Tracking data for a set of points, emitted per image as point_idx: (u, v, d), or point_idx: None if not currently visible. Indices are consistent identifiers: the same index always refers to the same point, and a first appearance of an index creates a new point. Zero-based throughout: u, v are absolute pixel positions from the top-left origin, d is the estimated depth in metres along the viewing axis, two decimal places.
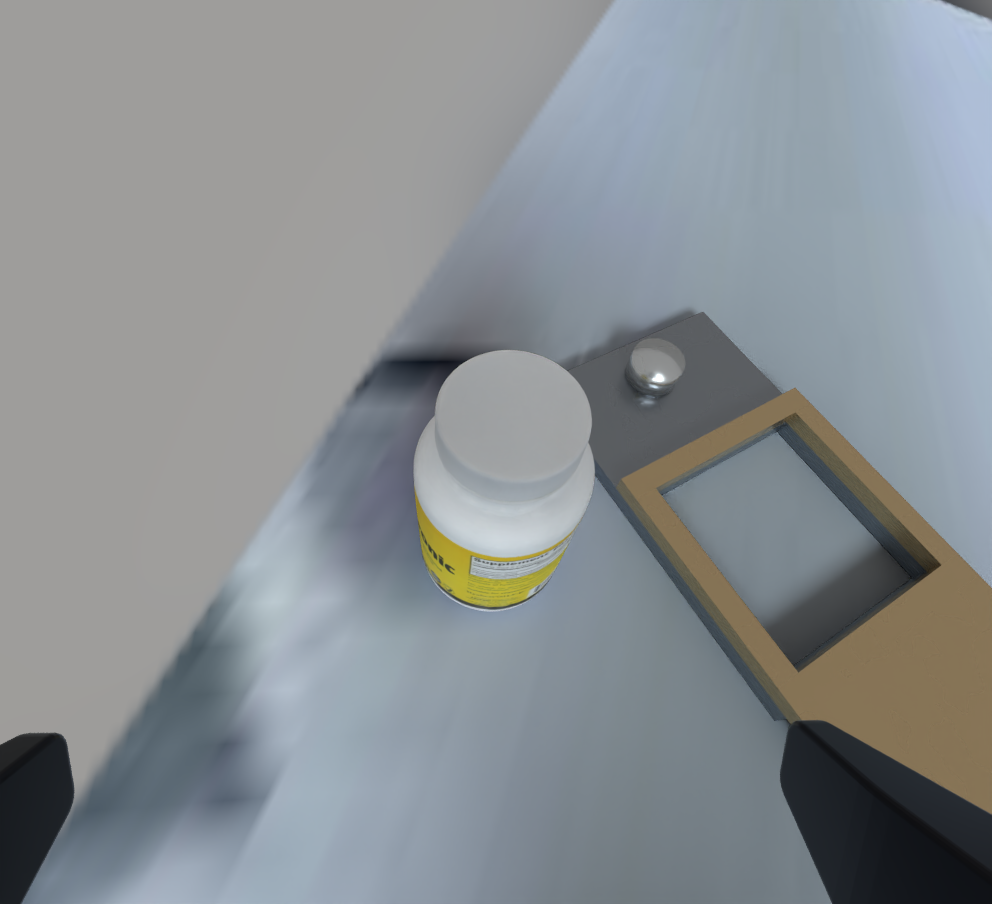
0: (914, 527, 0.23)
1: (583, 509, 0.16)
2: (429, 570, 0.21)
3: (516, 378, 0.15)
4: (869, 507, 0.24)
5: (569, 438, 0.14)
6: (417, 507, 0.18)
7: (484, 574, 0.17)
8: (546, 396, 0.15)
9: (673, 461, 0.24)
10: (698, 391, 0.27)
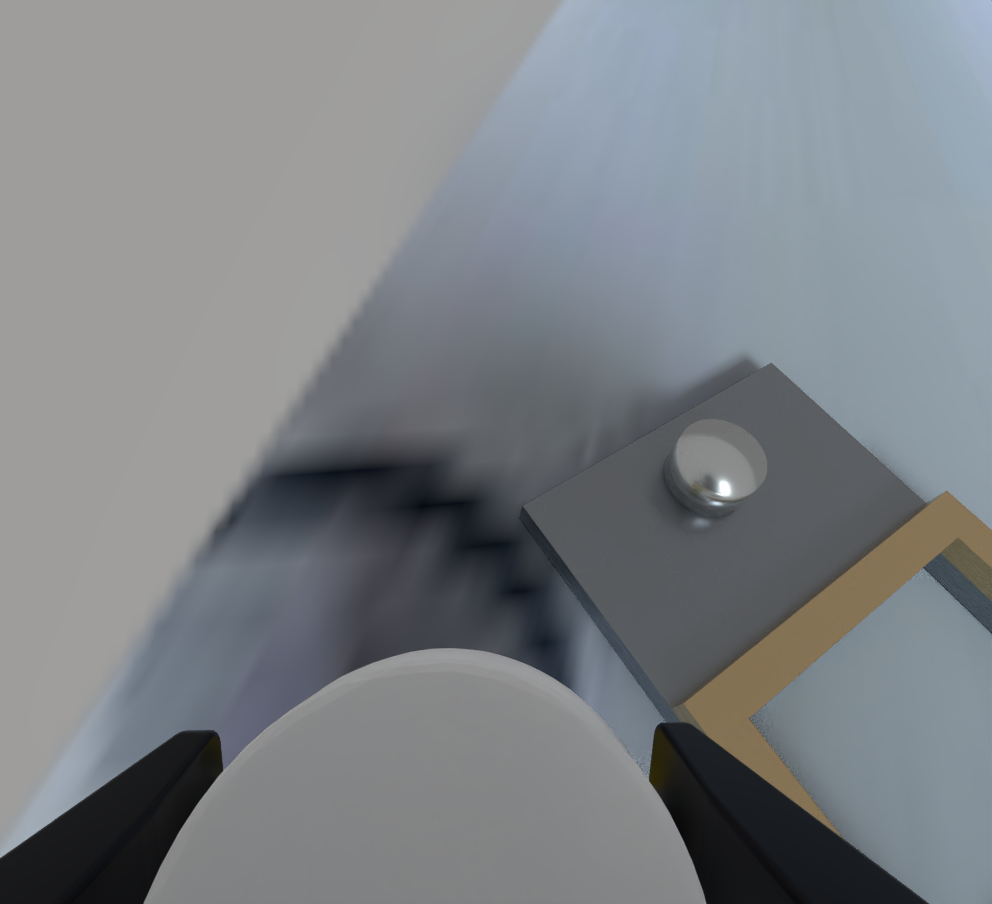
0: None
1: None
2: None
3: (438, 796, 0.04)
4: None
5: None
6: None
7: None
8: (547, 878, 0.04)
9: (772, 655, 0.13)
10: (786, 502, 0.16)
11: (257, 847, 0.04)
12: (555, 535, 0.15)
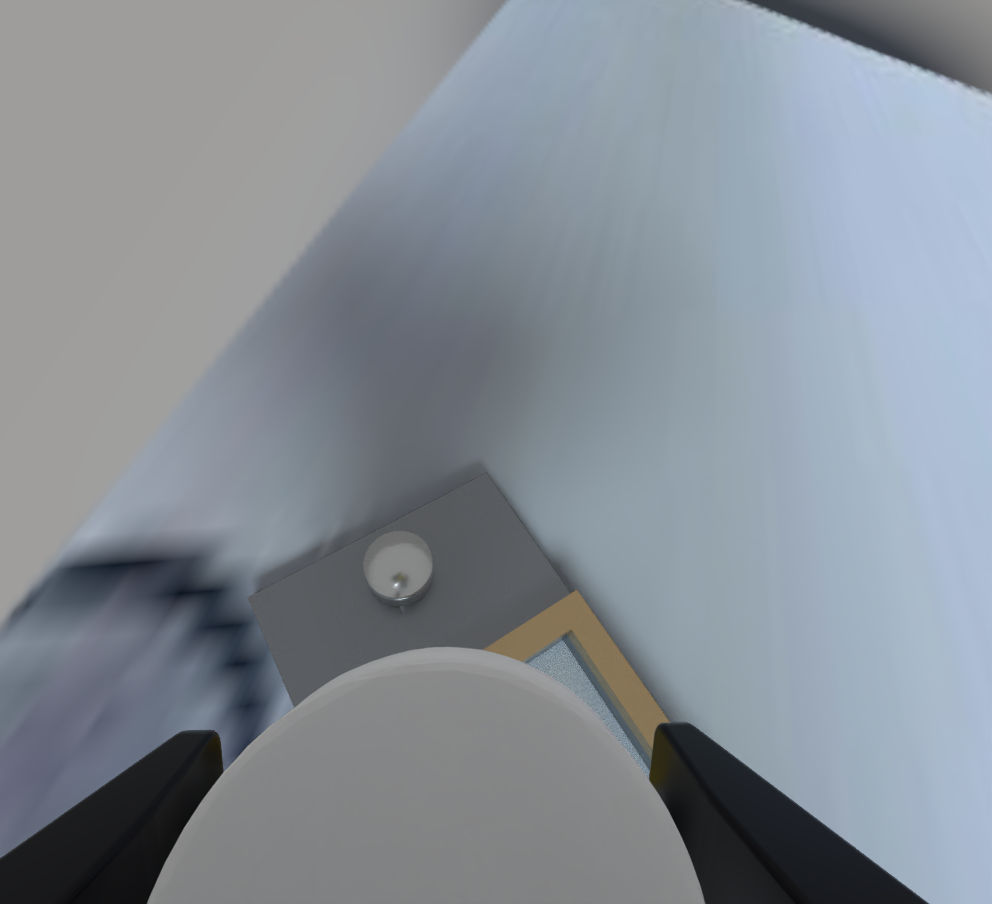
0: None
1: None
2: None
3: (441, 793, 0.04)
4: None
5: None
6: None
7: None
8: (547, 873, 0.04)
9: None
10: (459, 594, 0.21)
11: (261, 844, 0.04)
12: (266, 622, 0.20)
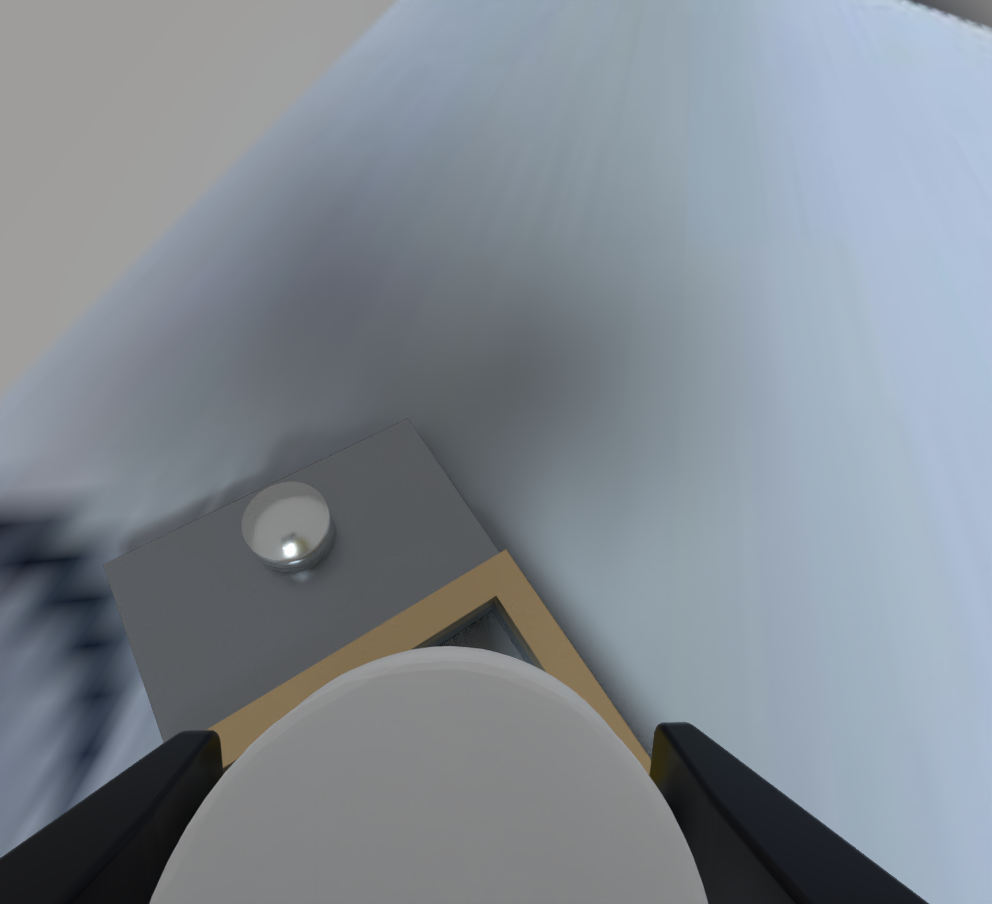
0: None
1: None
2: None
3: (443, 792, 0.04)
4: None
5: None
6: None
7: None
8: (549, 872, 0.04)
9: (262, 713, 0.14)
10: (365, 558, 0.17)
11: (264, 842, 0.04)
12: (123, 594, 0.16)
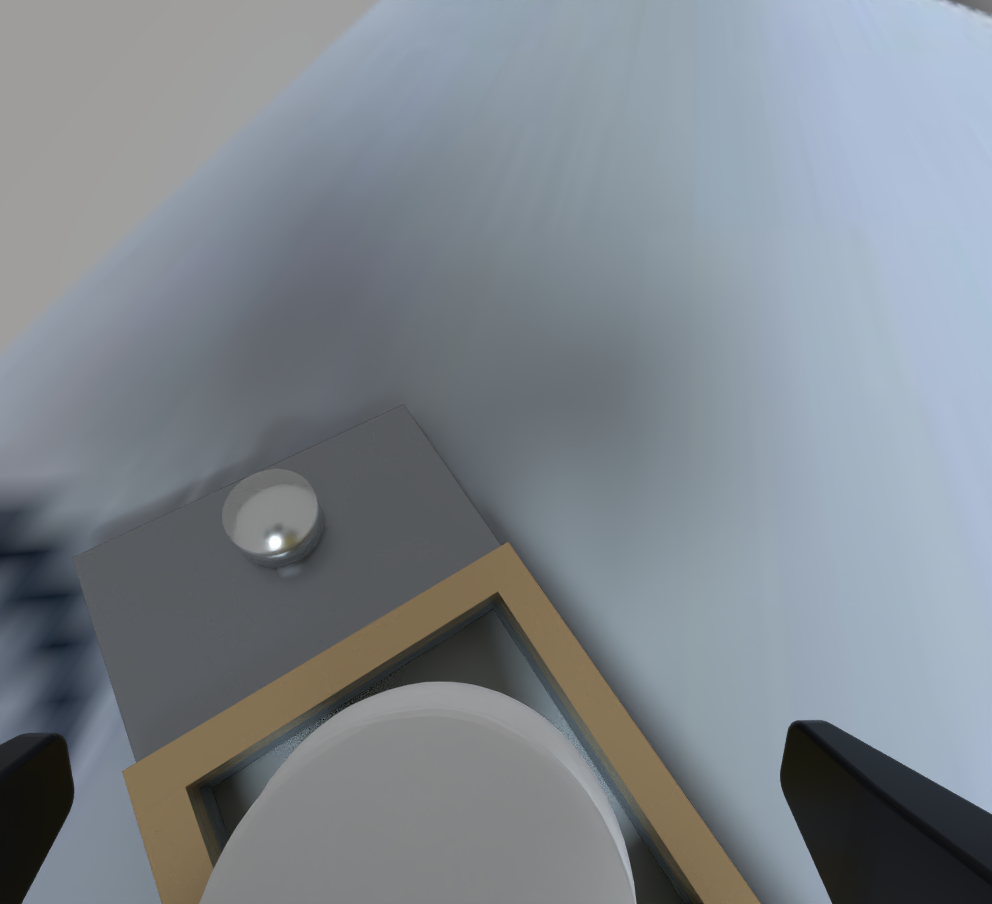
0: (672, 828, 0.12)
1: None
2: None
3: (426, 817, 0.05)
4: (610, 773, 0.14)
5: None
6: None
7: None
8: (510, 880, 0.05)
9: (240, 719, 0.13)
10: (356, 552, 0.16)
11: (286, 859, 0.05)
12: (93, 589, 0.15)
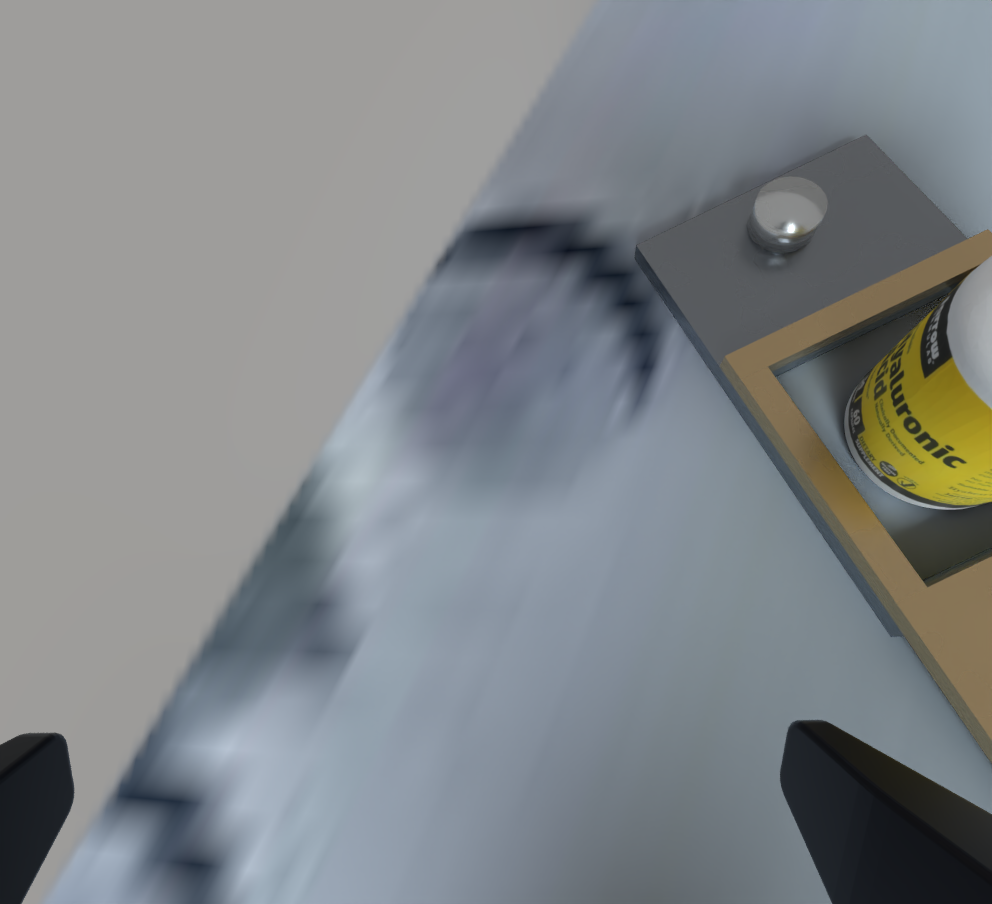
0: None
1: None
2: (873, 461, 0.18)
3: None
4: None
5: None
6: (932, 388, 0.15)
7: None
8: None
9: (795, 333, 0.19)
10: (844, 243, 0.21)
11: None
12: (657, 264, 0.22)
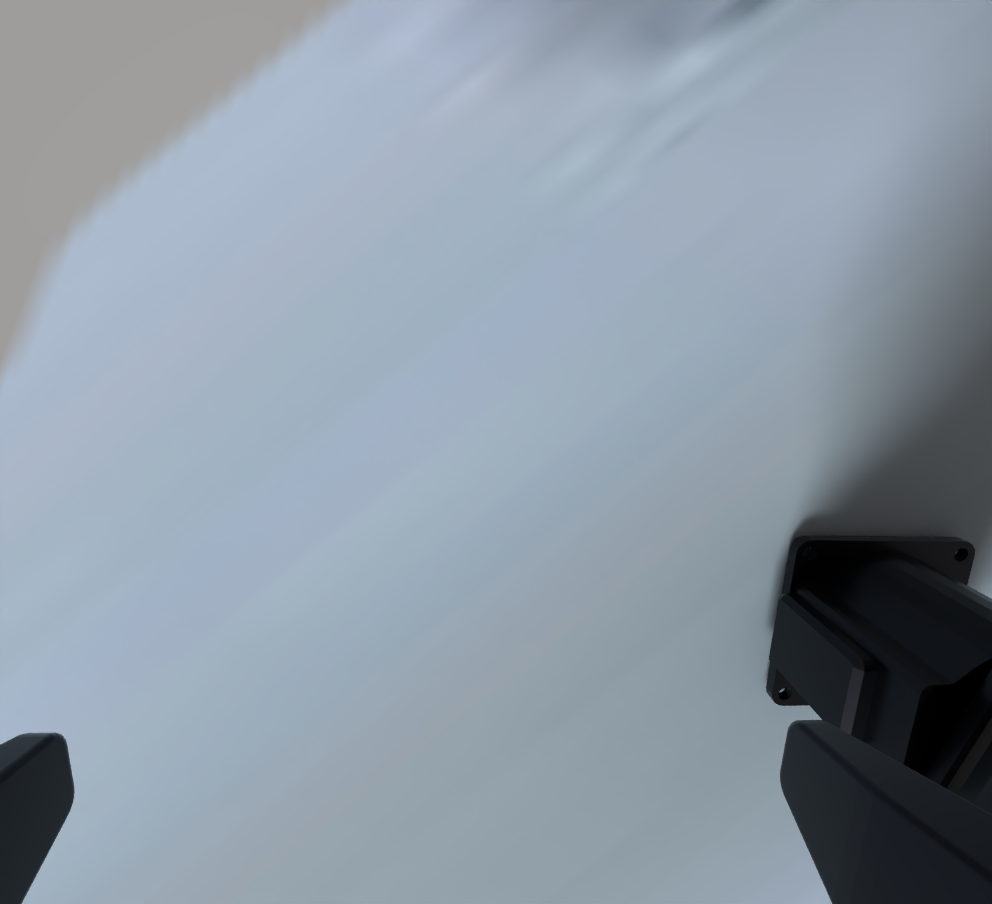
0: None
1: None
2: None
3: None
4: None
5: None
6: None
7: None
8: None
9: None
10: None
11: None
12: None
